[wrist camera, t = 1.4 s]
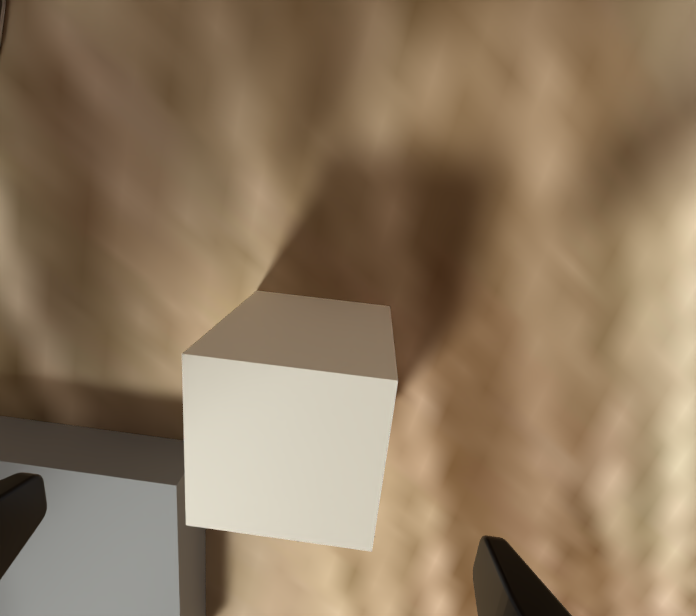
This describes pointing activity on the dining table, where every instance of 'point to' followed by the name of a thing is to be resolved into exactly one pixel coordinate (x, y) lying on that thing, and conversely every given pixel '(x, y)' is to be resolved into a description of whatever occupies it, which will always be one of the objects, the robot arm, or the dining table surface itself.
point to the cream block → (290, 419)
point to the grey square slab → (103, 525)
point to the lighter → (2, 16)
